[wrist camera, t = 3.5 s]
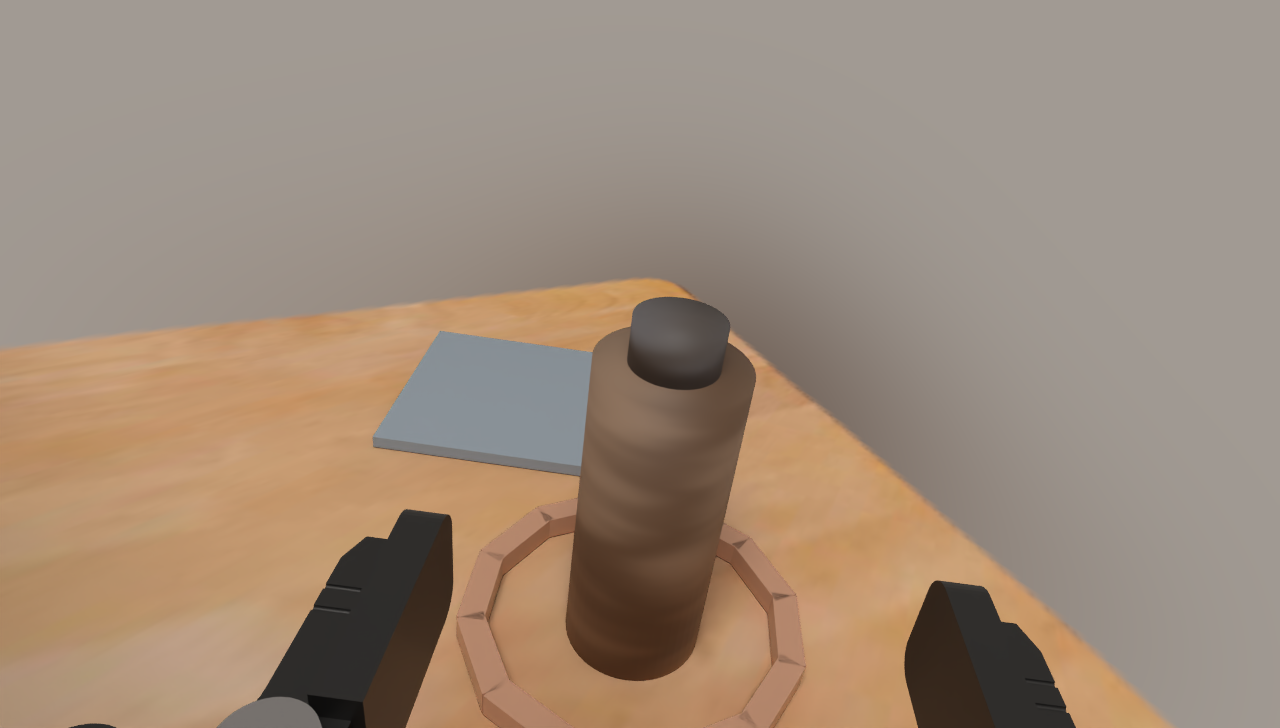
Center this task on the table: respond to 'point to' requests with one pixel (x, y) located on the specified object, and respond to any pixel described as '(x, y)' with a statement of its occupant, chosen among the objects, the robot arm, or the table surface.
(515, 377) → the mat
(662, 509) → the pepper mill
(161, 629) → the table surface
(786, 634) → the pinkish tan segmented ring
